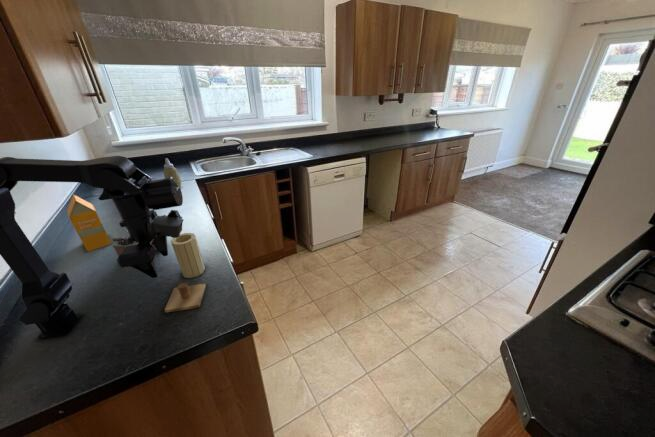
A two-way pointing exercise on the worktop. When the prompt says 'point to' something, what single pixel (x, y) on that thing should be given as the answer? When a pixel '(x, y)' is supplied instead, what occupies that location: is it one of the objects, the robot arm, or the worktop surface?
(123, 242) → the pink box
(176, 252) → the cream hollow cylinder
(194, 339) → the worktop surface
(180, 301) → the stand
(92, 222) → the orange juice
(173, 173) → the squeeze bottle
